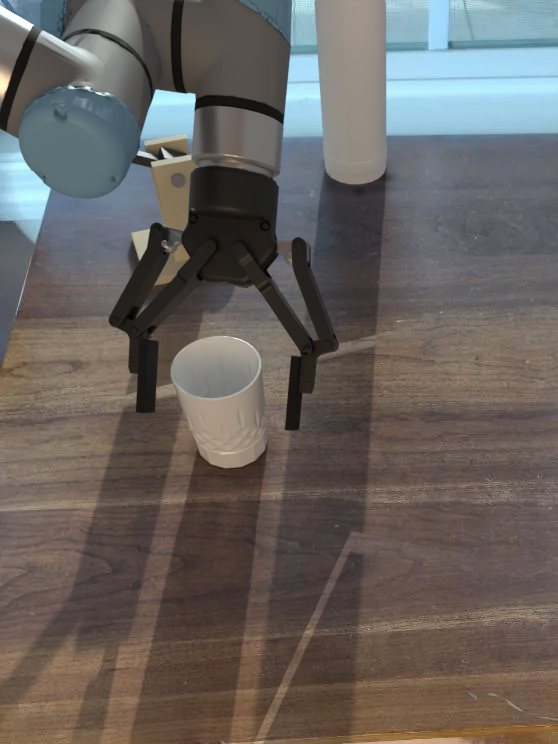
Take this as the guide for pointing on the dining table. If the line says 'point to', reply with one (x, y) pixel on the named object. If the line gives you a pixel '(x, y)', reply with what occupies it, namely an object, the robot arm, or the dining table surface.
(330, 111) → the bottle
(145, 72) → the robot arm
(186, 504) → the dining table surface
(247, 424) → the white cup
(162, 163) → the bracket
